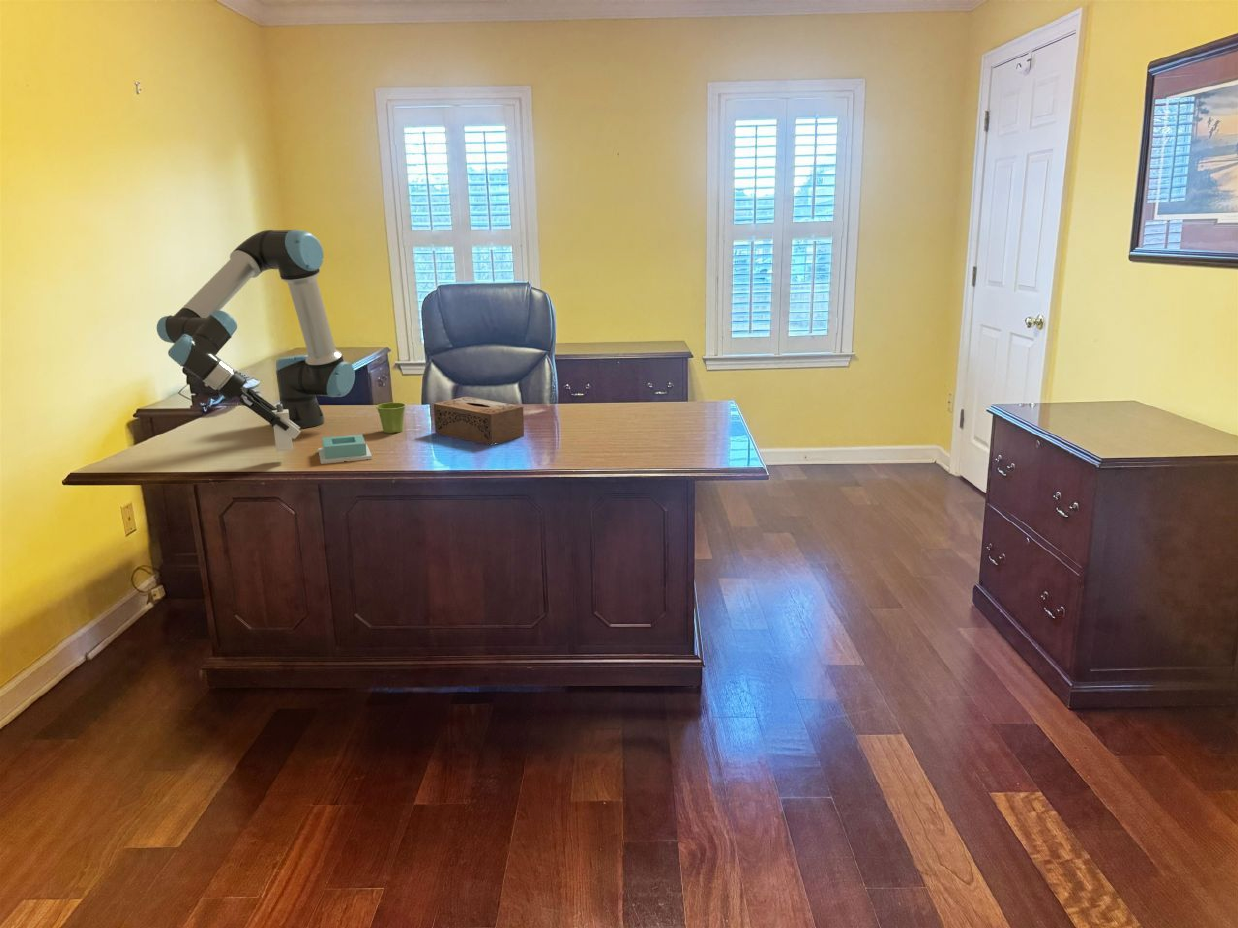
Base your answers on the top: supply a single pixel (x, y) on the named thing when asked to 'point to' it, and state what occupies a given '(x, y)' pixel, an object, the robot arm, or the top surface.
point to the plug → (282, 438)
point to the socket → (344, 449)
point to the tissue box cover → (479, 420)
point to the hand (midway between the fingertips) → (297, 433)
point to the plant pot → (391, 416)
